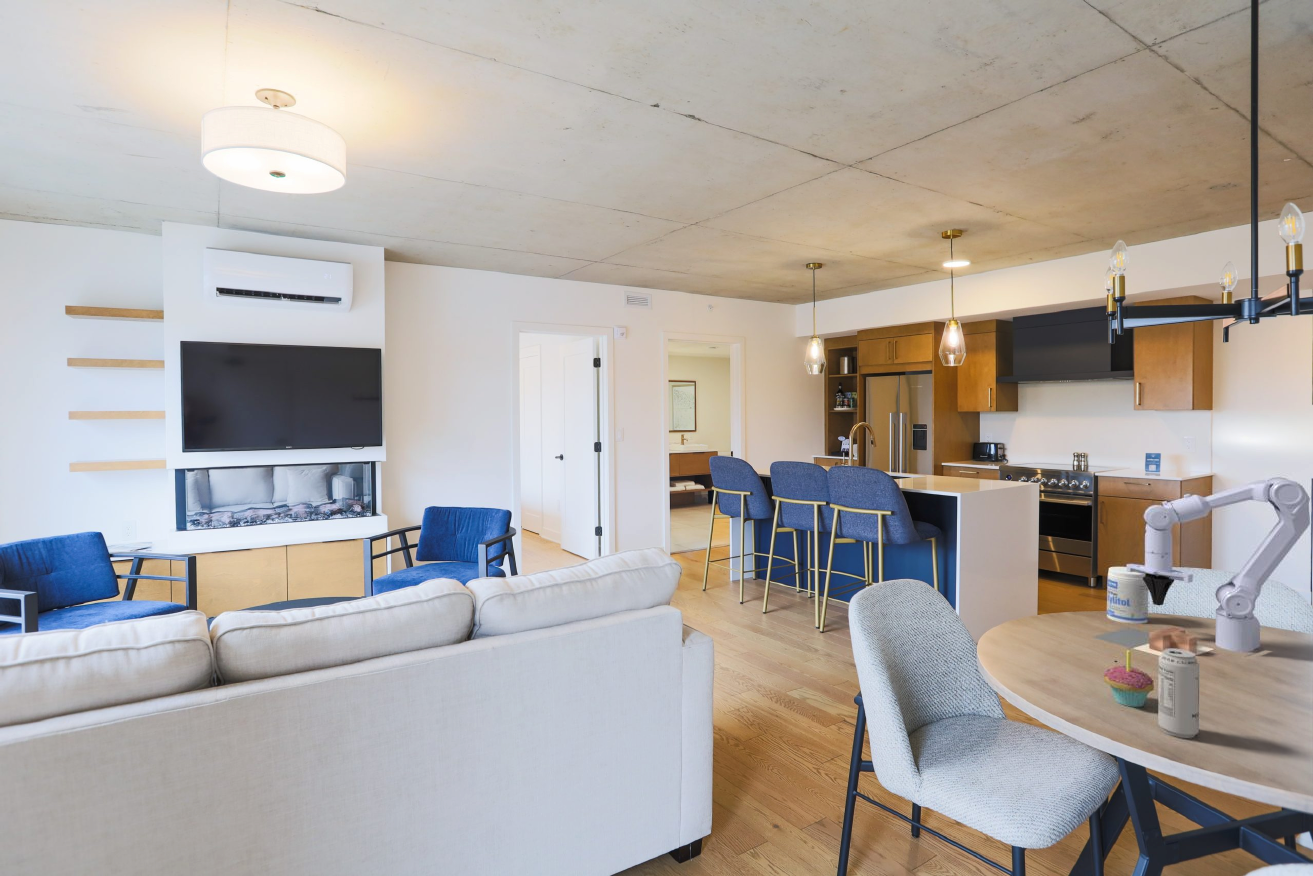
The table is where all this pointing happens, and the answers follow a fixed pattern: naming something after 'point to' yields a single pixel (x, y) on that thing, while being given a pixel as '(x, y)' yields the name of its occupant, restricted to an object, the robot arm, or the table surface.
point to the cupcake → (1129, 684)
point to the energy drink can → (1178, 693)
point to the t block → (1172, 640)
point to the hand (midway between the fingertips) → (1158, 604)
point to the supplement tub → (1127, 596)
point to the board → (1137, 640)
